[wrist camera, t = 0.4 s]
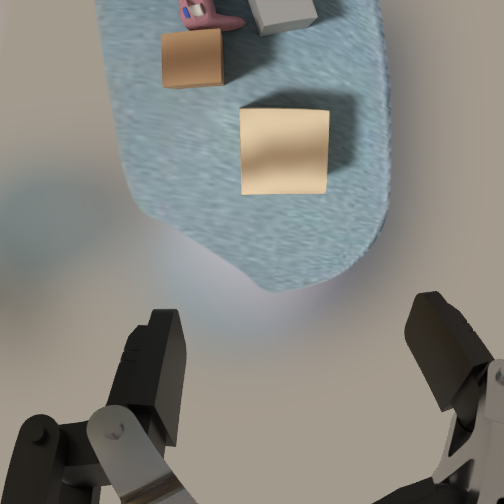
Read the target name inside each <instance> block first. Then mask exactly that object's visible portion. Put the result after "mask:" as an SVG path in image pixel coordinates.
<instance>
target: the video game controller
mask: <svg viewBox="0 0 504 504" xmlns="http://www.w3.org/2000/svg"><path fill="white" fill-rule="evenodd" d="M178 1H179V4H180V7H181V8H180V17H181V20H182V22H183V24H184V25H185V27H186V28H187V29H189V30H190V31H194V30H206V29H221V31H230V30H235V29H239V28H241V27H243V26H244V25H245V23H246V22H245V20H244V19H242V18H240V17H235V16H226V15H221V14H217V13H215V12H216V7H215V4H214V2H213V0H178Z"/></svg>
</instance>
